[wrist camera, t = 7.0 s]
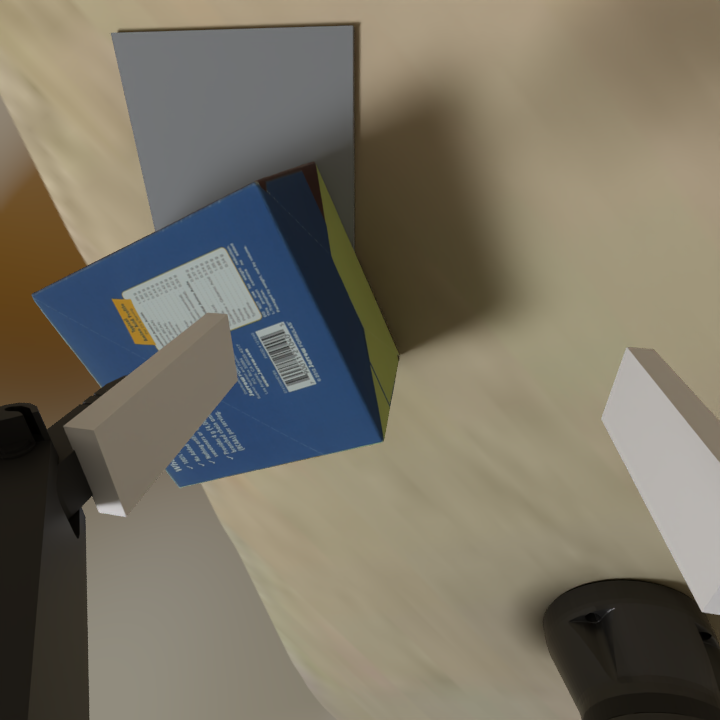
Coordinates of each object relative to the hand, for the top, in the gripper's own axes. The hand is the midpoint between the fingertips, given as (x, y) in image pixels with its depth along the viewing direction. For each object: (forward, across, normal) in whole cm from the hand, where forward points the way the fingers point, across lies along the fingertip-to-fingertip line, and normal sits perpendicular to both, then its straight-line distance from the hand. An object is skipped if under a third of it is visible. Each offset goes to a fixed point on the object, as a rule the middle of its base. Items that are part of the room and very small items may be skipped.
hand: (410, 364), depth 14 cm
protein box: (+11, +4, +2) cm, 12 cm away
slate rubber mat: (+17, +13, -1) cm, 21 cm away
